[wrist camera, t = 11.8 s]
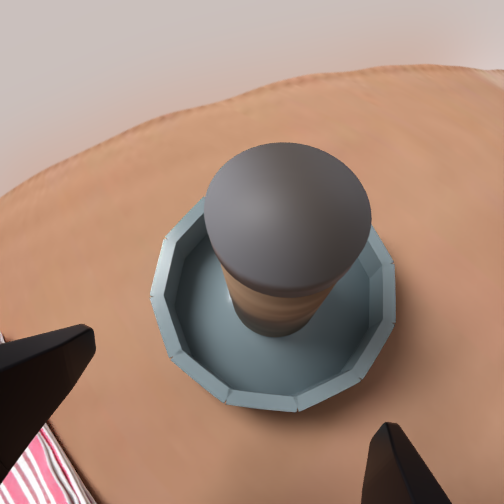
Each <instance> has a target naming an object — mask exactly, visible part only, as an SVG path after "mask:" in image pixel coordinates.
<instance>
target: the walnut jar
mask: <svg viewBox="0 0 504 504" xmlns="http://www.w3.org/2000/svg"><path fill="white" fill-rule="evenodd" d="M204 219H205V224H206V228H207V232H208V235H209V238H210V241H211V244H212V247H213V250H214V252H215V255H216V256H217V258H218V260H219V262H220V264H221V267H222V271H223V274H224V277H225V281H226V284H227V287H228V290H229V294H230V297H231V300H232V303H233V306H234V309H235V312H236V314H237V316H238V318H239V319H240V320H241V322H242V323H243V324H244V325H245V326H246V327H247V328H249V329H250V330H251V331H253V332H255V333H257V334H260V335H263V336H267V337H284V336H288V335H291V334H293V333H295V332H297V331H299V330H300V329H301V328H303V327H304V326H305V325H306V324H307V323H308V322H309V320H310V319H311V318H312V316H313V315H314V314H315V312H316V311H317V310H318V308H319V307H320V305H321V304H322V303H323V301H324V300H325V299H326V297H327V296H328V294H329V293H330V291H331V290H332V289H333V287H334V286H335V284H336V283H337V282H338V281H339V280H340V279H341V278H342V277H343V276H344V275H345V274H346V273H347V272H348V270H349V269H350V268H351V266H352V265H353V264H354V262H355V261H356V259H357V258H358V256H359V255H360V253H361V252H362V250H363V248H364V247H365V245H366V242H367V240H368V237H369V234H370V229H371V219H372V218H371V208H370V203H369V199H368V197H367V194H366V191H365V189H364V188H363V186H362V184H361V182H360V181H359V179H358V178H357V177H356V175H355V174H354V173H353V172H352V171H351V170H350V169H349V168H348V167H347V166H346V165H345V164H344V163H342V162H341V161H340V160H338V159H337V158H335V157H334V156H332V155H330V154H328V153H326V152H324V151H322V150H320V149H317V148H314V147H311V146H307V145H302V144H297V143H270V144H264V145H260V146H257V147H253V148H250V149H248V150H246V151H243V152H242V153H240V154H238V155H236V156H235V157H233V158H232V159H231V160H229V161H228V162H227V163H226V164H225V165H224V166H222V167H221V168H220V170H219V171H218V172H217V173H216V175H215V176H214V178H213V179H212V181H211V183H210V185H209V188H208V190H207V193H206V197H205V202H204Z"/></svg>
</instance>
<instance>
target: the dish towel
mask: <svg viewBox="0 0 504 504" xmlns="http://www.w3.org/2000/svg"><path fill="white" fill-rule="evenodd" d="M2 343H5V342H4V339H3V335H2V333H1V331H0V344H2ZM0 504H96V502H95V500H94V499H93V497H92V496H91V494H90V493H89V491H88V490H87V489H86V487H85V486H84V484H83V482H82V481H81V479H80V477H79V476H78V474H77V472H76V471H75V469H74V468H73V466H72V464H71V462H70V461H69V459H68V458H67V456H66V454H65V453H64V451H63V450H62V448H61V446H60V445H59V443H58V442H57V440H56V438H55V437H54V435H53V433H52V432H51V430H50V429H49V427H48V425H47V424H46V423H45V424H44V426H43V427H42V428H41V430H40V431H39V432H38V434H37V435H36V436H35V438H34V439H33V440H32V442H31V443H30V444H29V446H28V447H27V448H26V450H25V451H24V452H23V454H22V455H21V456H20V458H19V459H18V461H17V462H16V463H15V465H14V466H13V467H12V469H11V470H10V472H9V473H8V475H7V476H6V478H5V479H4V480H3V482H2V483H1V485H0Z"/></svg>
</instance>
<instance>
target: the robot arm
mask: <svg viewBox="0 0 504 504" xmlns="http://www.w3.org/2000/svg"><path fill="white" fill-rule="evenodd" d="M95 351H96V345H95V336H94V331H93V329H92V328H91V327H89V326H87V325H85V324H79V325H75V326H71V327H67V328H63V329H59V330H55V331H51V332H47V333H43V334H39V335H35V336H31V337H27V338H23V339H19V340H15V341H11V342H7V343H2V344H0V485H1V483H2V482H3V480H4V479H5V478H6V476H7V475H8V473H9V472H10V470H11V469H12V467H13V466H14V465H15V463H16V462H17V461H18V459H19V458H20V456H21V455H22V454H23V452H24V451H25V450H26V448H27V447H28V446H29V444H30V443H31V442H32V440H33V439H34V438H35V436H36V435H37V434H38V432H39V431H40V430H41V428H42V427H43V426H44V424H45V423H46V422H47V421H48V419H49V418H50V417H51V415H52V414H53V413H54V412H55V410H56V409H57V408H58V406H59V405H60V404H61V403H62V401H63V400H64V399H65V398H66V396H67V395H68V394H69V393H70V391H71V390H72V389H73V387H74V386H75V384H76V383H77V381H78V379H79V378H80V376H81V375H82V373H83V371H84V370H85V368H86V367H87V365H88V364H89V362H90V361H91V359H92V358H93V356H94V354H95ZM361 504H452V503H451V502H450V500H449V498H448V497H447V495H446V494H445V492H444V491H443V489H442V488H441V486H440V485H439V483H438V482H437V480H436V479H435V477H434V476H433V474H432V473H431V471H430V470H429V468H428V467H427V465H426V464H425V462H424V461H423V459H422V458H421V456H420V455H419V454H418V452H417V451H416V449H415V448H414V446H413V445H412V443H411V442H410V440H409V439H408V437H407V436H406V434H405V433H404V431H403V430H402V429H401V427H400V426H399V425H398V424H397V423H390V422H385V423H384V424H383V425H382V426H381V427H380V428H379V430H378V431H377V432H376V434H375V435H374V436H373V438H372V439H371V442H370V446H369V452H368V459H367V465H366V471H365V476H364V482H363V488H362V499H361Z"/></svg>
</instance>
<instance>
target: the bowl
mask: <svg viewBox="0 0 504 504" xmlns="http://www.w3.org/2000/svg"><path fill="white" fill-rule="evenodd" d="M204 202H205V197H203V198H202V199H201V200H200V201H199V202H198V203H197V204H196V205H195V206H194V207H193V208H192V209H191V210H190V211H189V212H188V213H187V214H186V215H185V216H184V217H183V218H182V219H181V220H180V221H179V223H178V224H177V225H176V226H175V227H174V228H173V229H172V230H171V231H170V232H169V233H168V234H167V235H166V236H165V238H166V239H164V241H163V244H162V248H161V252H160V256H159V259H158V263H157V267H156V271H155V275H154V280H153V284H152V288H151V292H150V296H151V298H150V300H151V303H152V307H153V310H154V313H155V317H156V320H157V323H158V326H159V329H160V332H161V335H162V338H163V341H164V344H165V347H166V350H167V353H168V356H169V358H171V361H172V362H174V363H175V364H176V365H177V366H178V367H179V368H181V369H182V370H183V371H184V372H185V373H186V374H188V375H189V376H190V377H191V378H192V379H194V380H195V381H196V382H197V383H199V384H200V385H201V386H202V387H203V388H205V389H206V390H207V391H208V392H210V393H211V394H212V395H214V396H215V397H216V398H217V399H219V400H220V401H221V402H223V403H225V402H226V404H228V405H234V406H241V407H249V408H257V409H266V410H275V411H286V412H297V411H299V412H300V411H302V410H304V409H307V408H309V407H311V406H313V405H315V404H317V403H319V402H321V401H324V400H326V399H328V398H330V397H332V396H334V395H336V394H338V393H340V392H342V391H344V390H345V389H347V388H349V387H351V386H353V385H355V384H357V383H359V382H360V380H363V378H364V377H365V375H366V374H367V372H368V370H369V369H370V367H371V366H372V364H373V362H374V361H375V359H376V357H377V356H378V354H379V352H380V351H381V349H382V347H383V346H384V344H385V342H386V340H387V339H388V337H389V335H390V333H391V332H392V330H393V328H394V326H395V325H394V323H396V294H395V266H394V264H392V263H393V262H394V261H393V260H392V258H391V256H390V254H389V253H388V251H387V249H386V248H385V246H384V244H383V243H382V241H381V239H380V238H379V236H378V234H377V233H376V231H375V229H374V228H373V226H372V224H371V229H370V234H369V237H368V240H367V242H366V245H365V247H364V248H363V250H362V252H361V253H360V255H359V256H358V258H357V259H356V261H355V262H354V264H353V265H352V266H351V268H350V269H349V270H348V272H347V273H346V274H345V275H344V276H343V277H342V278H341V279H340V280H339V281H338V282H337V283H336V284H335V286H334V287H333V289H332V290H331V291H330V293H329V294H328V296H327V297H326V299H325V300H324V301H323V303H322V304H321V305H320V307H319V308H318V310H317V311H316V312H315V314H314V315H313V316H312V318H311V319H310V320H309V322H308V323H307V324H306V325H305V326H304V327H303V328H301V329H300V330H299V331H297V332H295V333H293V334H291V335H288V336H284V337H267V336H263V335H260V334H257V333H255V332H253V331H251V330H250V329H249V328H247V327H246V326H245V325H244V324H243V323H242V322H241V320H240V319H239V318H238V316H237V314H236V312H235V309H234V306H233V303H232V300H231V297H230V294H229V290H228V287H227V284H226V281H225V277H224V274H223V271H222V267H221V264H220V262H219V260H218V258H217V256H216V255H215V252H214V250H213V247H212V244H211V241H210V238H209V235H208V232H207V228H206V224H205V219H204Z"/></svg>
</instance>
